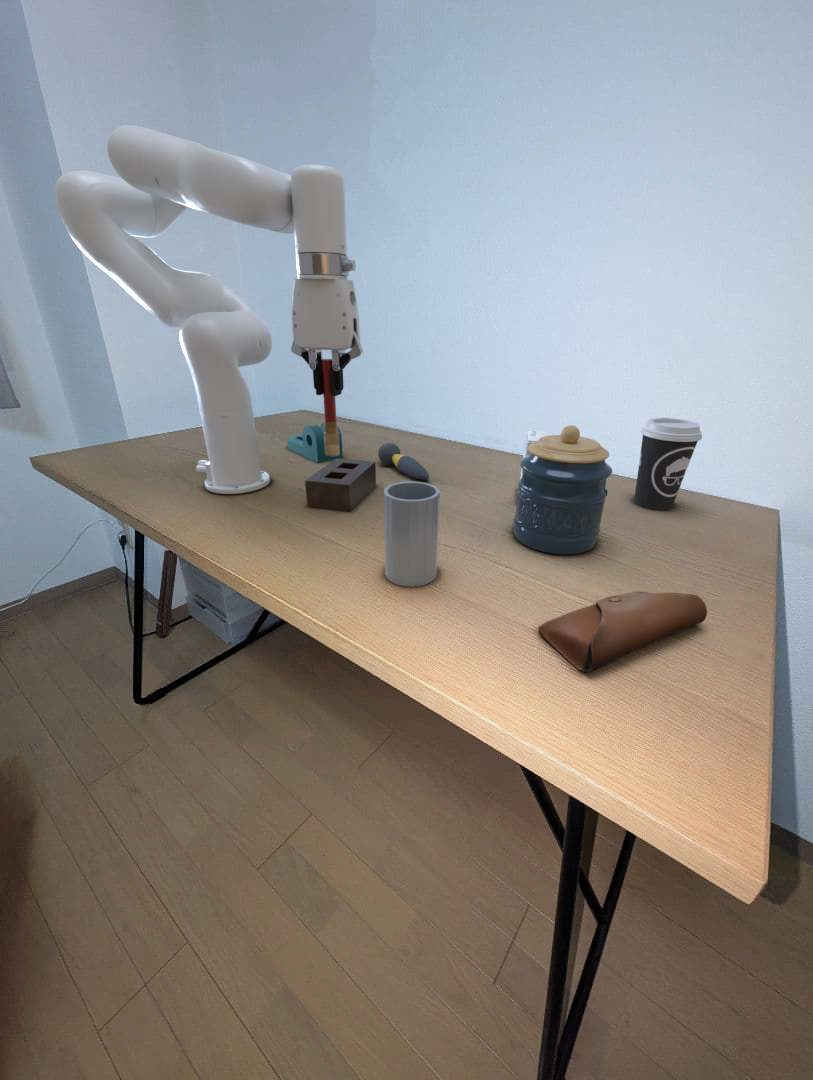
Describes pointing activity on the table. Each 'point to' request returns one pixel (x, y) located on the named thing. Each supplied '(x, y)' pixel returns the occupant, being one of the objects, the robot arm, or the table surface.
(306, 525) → the table surface
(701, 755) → the table surface
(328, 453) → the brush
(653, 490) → the coffee cup
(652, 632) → the sunglasses case
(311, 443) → the bracket
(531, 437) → the ink box
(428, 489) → the grey cylindrical cup
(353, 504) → the holder
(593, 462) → the canister
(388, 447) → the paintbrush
